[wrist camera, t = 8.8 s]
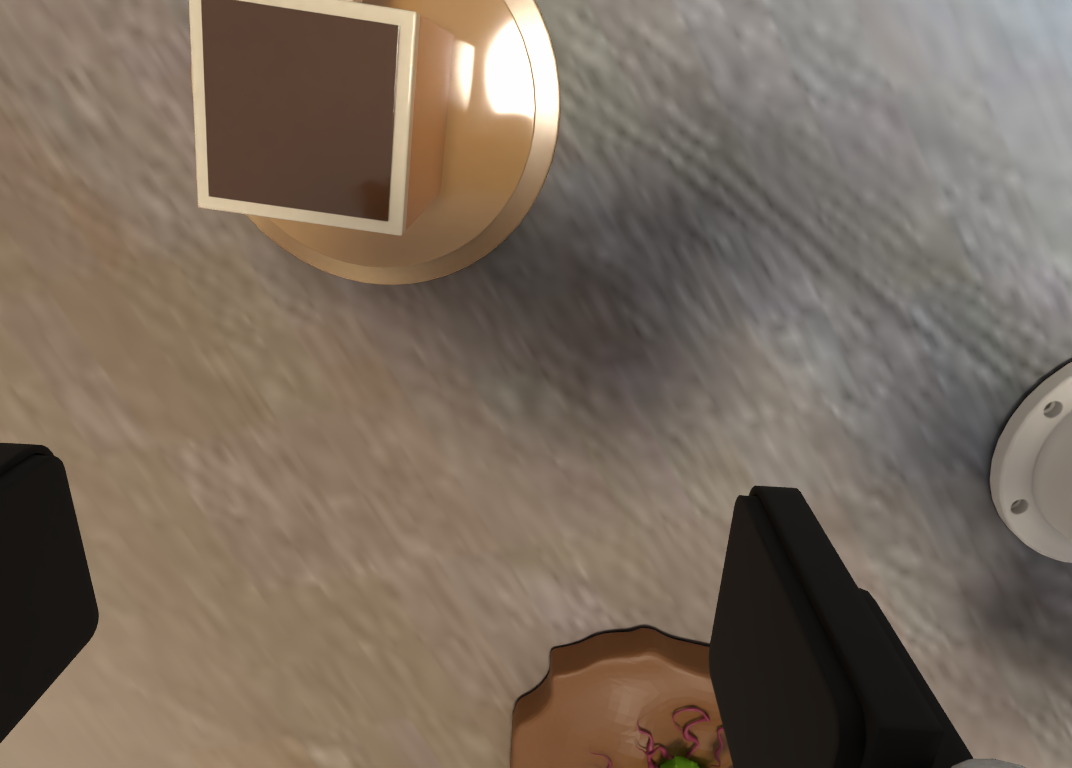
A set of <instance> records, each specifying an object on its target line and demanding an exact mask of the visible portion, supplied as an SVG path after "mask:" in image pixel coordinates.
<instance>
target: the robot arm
mask: <svg viewBox="0 0 1072 768" xmlns="http://www.w3.org/2000/svg"><path fill="white" fill-rule="evenodd" d="M990 486H991V494H992V500H993V502H994V505H995V507H996V510H997V512H998V514H999V516H1000V518H1001V519H1002V520H1003V522H1004V523H1005V524H1006V526H1007V527H1008V528H1009V530H1010V531H1012V532H1013V533H1014V534H1015V535H1016V536H1017V537H1018V538H1019V539H1020V540H1021V541H1022V542H1024V543H1025V544H1026V545H1027V546H1029V547H1030V548H1032V549H1034V550H1035V551H1037V552H1038V553H1040V554H1042V555H1044V556H1047V557H1050V558H1053V559H1055V560H1058V561H1062V562H1068V563H1072V362H1071V363H1069V364H1067V365H1065V366H1064V367H1063V368H1061V369H1060V370H1058V371H1057V372H1056V373H1054V374H1053V375H1051V376H1050V377H1049V378H1047V379H1046V380H1044V381H1043V382H1042V383H1041V384H1040V385H1039V386H1038V387H1037V388H1036V389H1035V390H1034V391H1033V392H1032V393H1031V394H1030V395H1029V396H1028V397H1027V398H1025V400H1024V401H1023V402H1022V403H1021V405H1020V406H1019V407H1018V409H1017V410H1016V411H1015V413H1014V414H1013V415H1012V416H1011V418H1010V419H1009V421H1008V423H1007V425H1006V426H1005V428H1004V430H1003V432H1002V434H1001V436H1000V438H999V439H998V442H997V446H996V449H995V452H994V455H993V458H992V463H991V473H990ZM98 618H99V613H98V607H97V603H96V599H95V594H94V590H93V586H92V582H91V577H90V573H89V569H88V565H87V560H86V556H85V552H84V548H83V543H82V539H81V535H80V531H79V526H78V522H77V518H76V514H75V509H74V505H73V501H72V497H71V493H70V488H69V484H68V480H67V476H66V471H65V467H64V465H63V462H62V461H61V460H60V459H59V458H57V457H55V456H54V455H53V453H52V452H51V451H50V450H49V448H47V447H45V446H43V445H32V444H14V443H0V743H1V742H2V741H3V740H4V738H5V737H6V736H7V735H8V734H9V733H10V732H11V730H12V729H13V728H14V727H15V726H16V725H17V723H18V722H19V721H20V720H21V719H22V718H23V717H24V715H25V714H26V713H27V712H28V711H29V710H30V708H31V707H32V706H33V705H34V704H35V703H36V702H37V700H38V699H39V698H40V697H41V696H42V695H43V694H44V692H45V691H46V690H47V689H48V688H49V687H50V685H51V684H52V683H53V682H54V681H55V680H56V679H57V677H58V676H59V675H60V674H61V673H62V672H63V670H64V669H65V668H66V667H67V666H68V665H69V664H70V662H71V661H72V660H73V659H74V658H75V657H76V655H77V654H78V653H79V652H80V651H81V650H82V649H83V647H84V646H85V645H86V644H87V643H88V642H89V640H90V639H91V638H92V636H93V635H94V632H95V630H96V628H97V624H98ZM709 671H710V677H711V681H712V685H713V689H714V693H715V697H716V701H717V705H718V709H719V713H720V717H721V721H722V724H723V728H724V732H725V736H726V740H727V744H728V748H729V752H730V756H731V760H732V764H733V767H734V768H1025V767H1023V766H1021V765H1018V764H1013V763H1009V762H1005V761H1001V760H996V759H973V757H972V755H971V754H970V752H969V750H968V749H967V747H966V746H965V744H964V742H963V741H962V739H961V738H960V736H959V734H958V733H957V731H956V730H955V728H954V726H953V725H952V723H951V722H950V720H949V718H948V717H947V715H946V713H945V712H944V710H943V709H942V707H941V705H940V704H939V702H938V701H937V699H936V697H935V696H934V694H933V693H932V691H931V689H930V688H929V686H928V684H927V683H926V681H925V680H924V678H923V676H922V675H921V673H920V672H919V670H918V668H917V667H916V665H915V664H914V662H913V660H912V659H911V657H910V656H909V654H908V652H907V651H906V649H905V647H904V646H903V644H902V643H901V641H900V639H899V638H898V636H897V635H896V633H895V631H894V630H893V628H892V627H891V625H890V623H889V622H888V620H887V618H886V617H885V615H884V614H883V612H882V610H881V609H880V607H879V606H878V604H877V602H876V601H875V599H874V598H873V597H872V596H871V595H870V593H869V592H868V591H865V590H863V589H861V588H858V587H857V585H856V583H855V582H854V580H853V578H852V577H851V575H850V573H849V572H848V570H847V569H846V567H845V565H844V564H843V562H842V560H841V559H840V557H839V555H838V554H837V552H836V550H835V549H834V547H833V545H832V544H831V542H830V540H829V539H828V537H827V535H826V534H825V532H824V530H823V529H822V527H821V525H820V524H819V522H818V520H817V519H816V517H815V515H814V514H813V512H812V510H811V509H810V507H809V505H808V504H807V502H806V500H805V499H804V497H803V495H802V494H801V492H800V491H799V490H798V489H797V488H786V487H769V486H754V487H753V488H752V489H751V491H750V494H749V496H742V495H739V496H738V497H737V499H736V502H735V506H734V512H733V517H732V523H731V529H730V534H729V540H728V546H727V551H726V557H725V563H724V568H723V574H722V580H721V585H720V591H719V596H718V602H717V608H716V613H715V619H714V625H713V630H712V636H711V642H710V648H709Z"/></svg>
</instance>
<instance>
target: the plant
mask: <svg viewBox="0 0 1072 768" xmlns="http://www.w3.org/2000/svg"><path fill="white" fill-rule="evenodd" d="M709 648H710V647H707V646H702V645H697V644H693V643H689V642H684V641H680V640H675V639H672V638H669V637H667V636H664V635H662V634H660V633H659V632H657V631H655V630H653V629H648V628H640V629H637V630H634V631H629V632H613V633H606V634H600V635H597V636H594V637H592V638H589V639H587V640H585V641H583V642H580V643H577V644H574V645H569V646H566V647H559V648H555V649H553V650H552V652H551V655H550V672H549V674H548V676H547V678H546V679H545V681H544V682H543V683H542V684H541V685H540V686H539V687H538V688H537V689H536V690H534V691H533V692H532V693H530V694H528V695H526V696H524V697H522V698H521V699H520V700H519V701H518V702H517V704H516V707H515V710H514V714H513V721H512V743H511V760H510V768H734V767H733V764H732V760H731V756H730V752H729V748H728V744H727V740H726V736H725V732H724V728H723V724H722V721H721V717H720V713H719V709H718V705H717V701H716V697H715V693H714V689H713V685H712V681H711V677H710V671H709Z"/></svg>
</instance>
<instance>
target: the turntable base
mask: <svg viewBox="0 0 1072 768" xmlns="http://www.w3.org/2000/svg"><path fill="white" fill-rule="evenodd" d="M504 1H505V2H506V4H507V6H508V7H509V9H510V11H511V12H512V14H513V16H514V18H515V20H516V22H517V25H518V27H519V29H520V32H521V34H522V36H523V38H524V42H525V45H526V48H527V51H528V55H529V58H530V61H531V67H532V72H533V78H534V84H535V100H536V114H535V128H534V135H533V140H532V145H531V150H530V154H529V157H528V160H527V163H526V166H525V169H524V172H523V175H522V177H521V179H520V181H519V183H518V185H517V187H516V189H515V191H514V193H513V195H512V196H511V198H510V199H509V201H508V202H507V204H506V205H505V207H504V208H503V210H502V211H501V212H500V213H499V214H498V216H497V217H496V218H495V219H494V220H493V221H492V223H491V224H490V225H489V226H488V227H486V228H485V229H484V230H483V231H482V232H481V233H480V234H479V235H477V236H476V237H475V238H474V239H472V240H471V241H469V242H468V243H466V244H465V245H463V246H462V247H460V248H459V249H457V250H455V251H453V252H451V253H449V254H446V255H444V256H442V257H440V258H437V259H434V260H431V261H428V262H425V263H421V264H415V265H410V266H405V267H389V268H381V267H368V266H361V265H356V264H351V263H346V262H343V261H340V260H337V259H334V258H331V257H328V256H325V255H323V254H321V253H319V252H317V251H315V250H313V249H310V248H308V247H306V246H305V245H303V244H302V243H300V242H298V241H297V240H295V239H294V238H292V237H290V236H289V235H288V234H286V233H285V232H284V231H283V230H282V229H280V228H279V227H278V226H277V225H275V224H274V223H273V222H272V221H271V220H270V219H269V218H268V217H263V216H256V215H249V214H246V215H247V216H248V217H249V218H250V219H251V220H252V222H253V223H254V224H255V225H256V226H257V227H258V228H259V229H260V230H261V231H262V232H263V233H264V234H266V235H267V236H268V237H269V238H271V239H272V240H273V241H274V242H275V243H277V244H278V245H279V246H280V247H281V248H283V249H285V250H286V251H288V252H289V253H291V254H292V255H294V256H295V257H297V258H298V259H300V260H302V261H304V262H306V263H308V264H310V265H312V266H314V267H316V268H318V269H320V270H322V271H325V272H328V273H330V274H333V275H336V276H339V277H342V278H346V279H350V280H355V281H359V282H363V283H372V284H383V285H397V284H412V283H418V282H424V281H430V280H433V279H437V278H440V277H443V276H446V275H450V274H452V273H454V272H456V271H459V270H461V269H463V268H465V267H467V266H470V265H471V264H473V263H474V262H476V261H478V260H479V259H481V258H482V257H484V256H486V255H487V254H489V253H490V252H491V251H492V250H493V249H495V248H496V247H497V246H498V245H499V244H501V243H502V242H503V241H504V240H505V239H506V238H507V237H508V236H509V235H510V234H511V233H512V232H513V230H514V229H515V228H516V227H517V226H518V225H519V224H520V223H521V221H522V220H523V218H524V217H525V215H526V214H527V213H528V211H529V210H530V208H531V207H532V205H533V204H534V202H535V200H536V198H537V196H538V194H539V192H540V190H541V188H542V187H543V185H544V182H545V179H546V177H547V174H548V171H549V169H550V166H551V163H552V160H553V156H554V151H555V147H556V143H557V138H558V129H559V120H560V84H559V77H558V70H557V63H556V58H555V54H554V50H553V47H552V43H551V39H550V35H549V32H548V30H547V27H546V25H545V22H544V20H543V17H542V15H541V12H540V10H539V8H538V6H537V4H536V2H535V0H504ZM191 78H192V63H191ZM192 90H193V82H192Z"/></svg>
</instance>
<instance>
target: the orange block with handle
mask: <svg viewBox="0 0 1072 768" xmlns="http://www.w3.org/2000/svg"><path fill="white" fill-rule="evenodd" d="M189 14H190V37H191V59H192V82H193V104H194V127H195V149H196V171H197V194H198V207H200V208H206V209H213V210H220V211H227V212H234V213H241V214H249V215H256V216H263V217H268V218H269V219H270V220H271V221H272V222H273V223H274V224H275V225H277V226H278V227H279V228H280V229H282V230H283V231H284V232H285V233H286V234H288V235H289V236H290V237H292V238H294V239H295V240H297V241H298V242H300V243H302V244H303V245H305V246H306V247H308V248H310V249H313V250H315V251H317V252H319V253H321V254H323V255H325V256H328V257H331V258H334V259H337V260H340V261H343V262H346V263H351V264H356V265H361V266H368V267H381V268H389V267H405V266H410V265H415V264H421V263H425V262H428V261H431V260H434V259H437V258H440V257H442V256H444V255H446V254H449V253H451V252H453V251H455V250H457V249H459V248H460V247H462V246H463V245H465V244H466V243H468V242H469V241H471V240H472V239H474V238H475V237H476V236H477V235H479V234H480V233H481V232H482V231H483V230H484V229H485V228H486V227H488V226H489V225H490V224H491V223H492V221H493V220H494V219H495V218H496V217H497V216H498V214H499V213H500V212H501V211H502V210H503V208H504V207H505V205H506V204H507V202H508V201H509V199H510V198H511V196H512V195H513V193H514V191H515V189H516V187H517V185H518V183H519V181H520V179H521V177H522V175H523V172H524V169H525V166H526V163H527V160H528V157H529V154H530V150H531V145H532V140H533V135H534V128H535V114H536V100H535V84H534V78H533V72H532V67H531V61H530V58H529V55H528V51H527V48H526V45H525V42H524V38H523V36H522V34H521V32H520V29H519V27H518V25H517V22H516V20H515V18H514V16H513V14H512V12H511V11H510V9H509V7H508V6H507V4H506V2H505V1H504V0H189Z"/></svg>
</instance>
